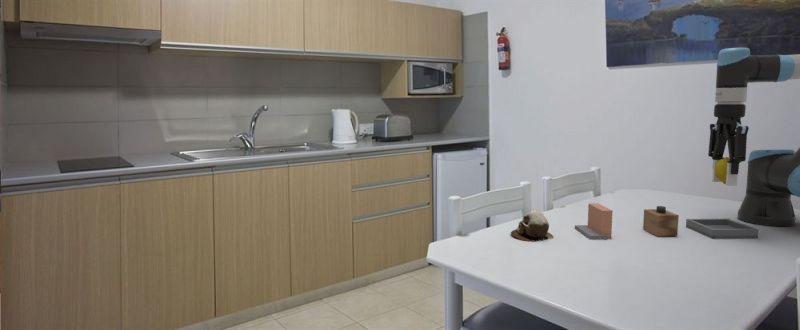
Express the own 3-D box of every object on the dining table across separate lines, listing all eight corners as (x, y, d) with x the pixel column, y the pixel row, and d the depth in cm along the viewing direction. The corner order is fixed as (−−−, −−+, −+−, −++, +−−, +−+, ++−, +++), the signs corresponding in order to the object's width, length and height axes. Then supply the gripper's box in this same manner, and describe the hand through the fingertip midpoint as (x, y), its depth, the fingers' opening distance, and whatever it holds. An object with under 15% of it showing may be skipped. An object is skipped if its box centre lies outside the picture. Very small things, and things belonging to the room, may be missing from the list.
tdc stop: (595, 228, 155) (597, 202, 154) (612, 239, 143) (614, 211, 142) (574, 228, 155) (575, 202, 154) (589, 239, 143) (591, 211, 142)
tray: (727, 226, 156) (728, 218, 156) (757, 238, 143) (758, 229, 143) (685, 226, 156) (686, 218, 156) (712, 238, 143) (712, 229, 143)
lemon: (740, 186, 144) (742, 158, 143) (718, 185, 145) (720, 158, 144) (731, 182, 150) (733, 155, 149) (711, 182, 151) (712, 155, 150)
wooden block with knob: (662, 228, 153) (664, 204, 152) (677, 235, 145) (679, 209, 144) (643, 228, 153) (644, 204, 152) (656, 235, 145) (658, 210, 144)
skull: (499, 231, 149) (518, 203, 151) (520, 250, 153) (537, 223, 156) (526, 239, 139) (546, 209, 141) (547, 260, 143) (566, 230, 145)
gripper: (697, 103, 154) (692, 178, 157) (738, 103, 135) (732, 189, 138) (722, 102, 154) (716, 178, 157) (766, 103, 135) (759, 189, 138)
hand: (724, 183), depth 148 cm, fingers closed on lemon, 5 cm apart
